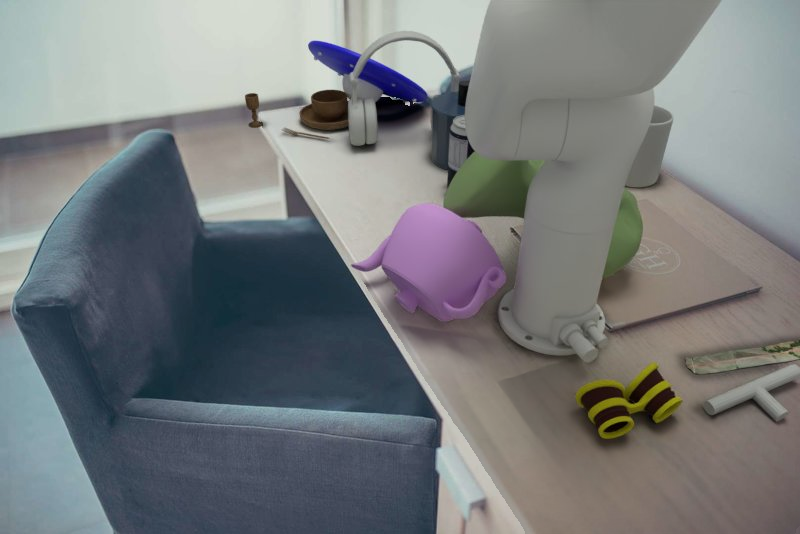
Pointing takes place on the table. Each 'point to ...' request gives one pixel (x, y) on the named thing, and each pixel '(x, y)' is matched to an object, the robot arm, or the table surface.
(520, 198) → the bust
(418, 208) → the teapot
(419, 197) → the table surface
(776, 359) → the bookmark
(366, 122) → the headphones
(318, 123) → the place setting
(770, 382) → the pipe joint
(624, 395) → the opera glasses
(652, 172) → the mug
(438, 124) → the pot
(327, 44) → the toy spaceship
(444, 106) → the pot lid
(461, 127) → the beverage can
